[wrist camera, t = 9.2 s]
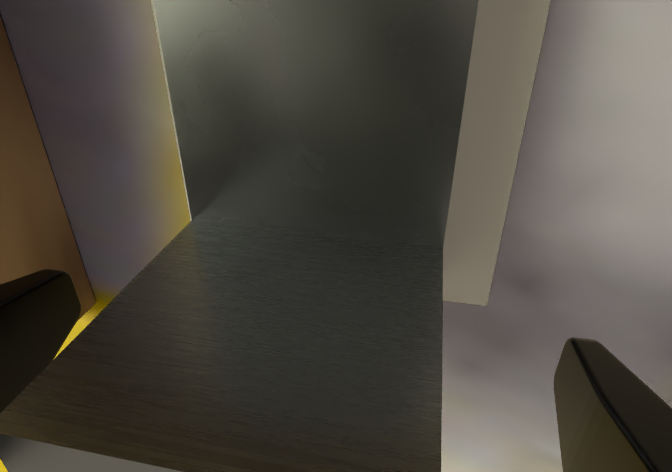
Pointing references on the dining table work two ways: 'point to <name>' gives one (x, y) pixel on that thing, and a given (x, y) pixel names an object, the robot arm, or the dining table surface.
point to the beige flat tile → (482, 140)
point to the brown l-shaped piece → (30, 193)
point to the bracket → (279, 255)
